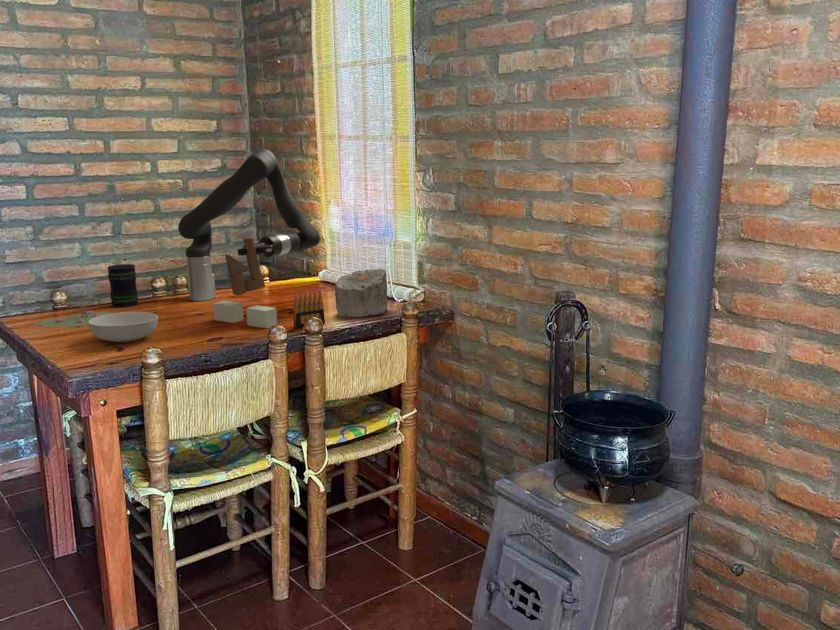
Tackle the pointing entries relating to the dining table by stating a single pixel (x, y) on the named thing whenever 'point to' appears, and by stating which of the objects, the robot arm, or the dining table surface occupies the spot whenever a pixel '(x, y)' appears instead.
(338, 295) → the petrified wood
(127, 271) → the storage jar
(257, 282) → the wooden angular bracket
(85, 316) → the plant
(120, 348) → the dining table surface
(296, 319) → the ammunition clip
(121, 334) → the serving bowl
